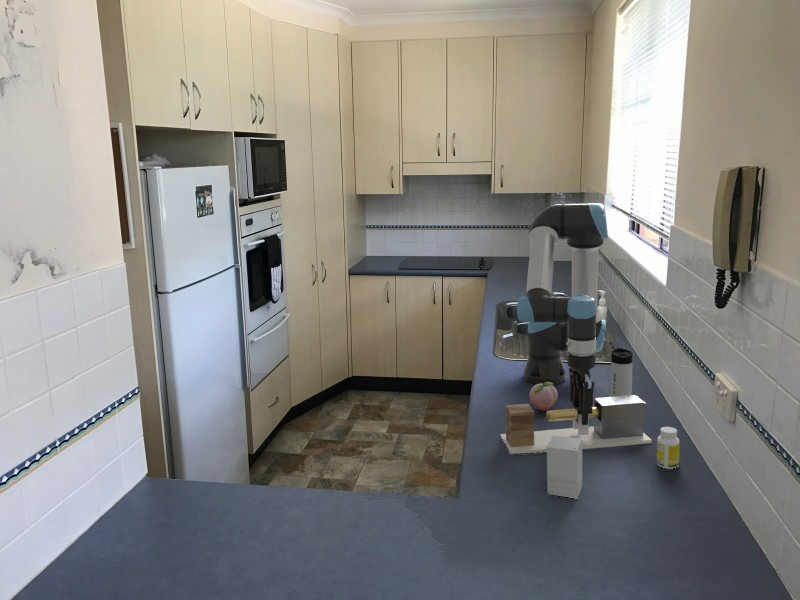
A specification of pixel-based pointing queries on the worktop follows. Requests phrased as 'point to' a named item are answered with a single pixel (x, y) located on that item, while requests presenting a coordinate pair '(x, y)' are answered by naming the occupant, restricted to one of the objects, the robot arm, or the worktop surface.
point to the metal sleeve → (620, 417)
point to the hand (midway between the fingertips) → (580, 431)
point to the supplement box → (564, 466)
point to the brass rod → (570, 414)
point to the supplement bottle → (668, 448)
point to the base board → (587, 440)
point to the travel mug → (621, 372)
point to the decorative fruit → (543, 395)
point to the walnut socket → (519, 425)
